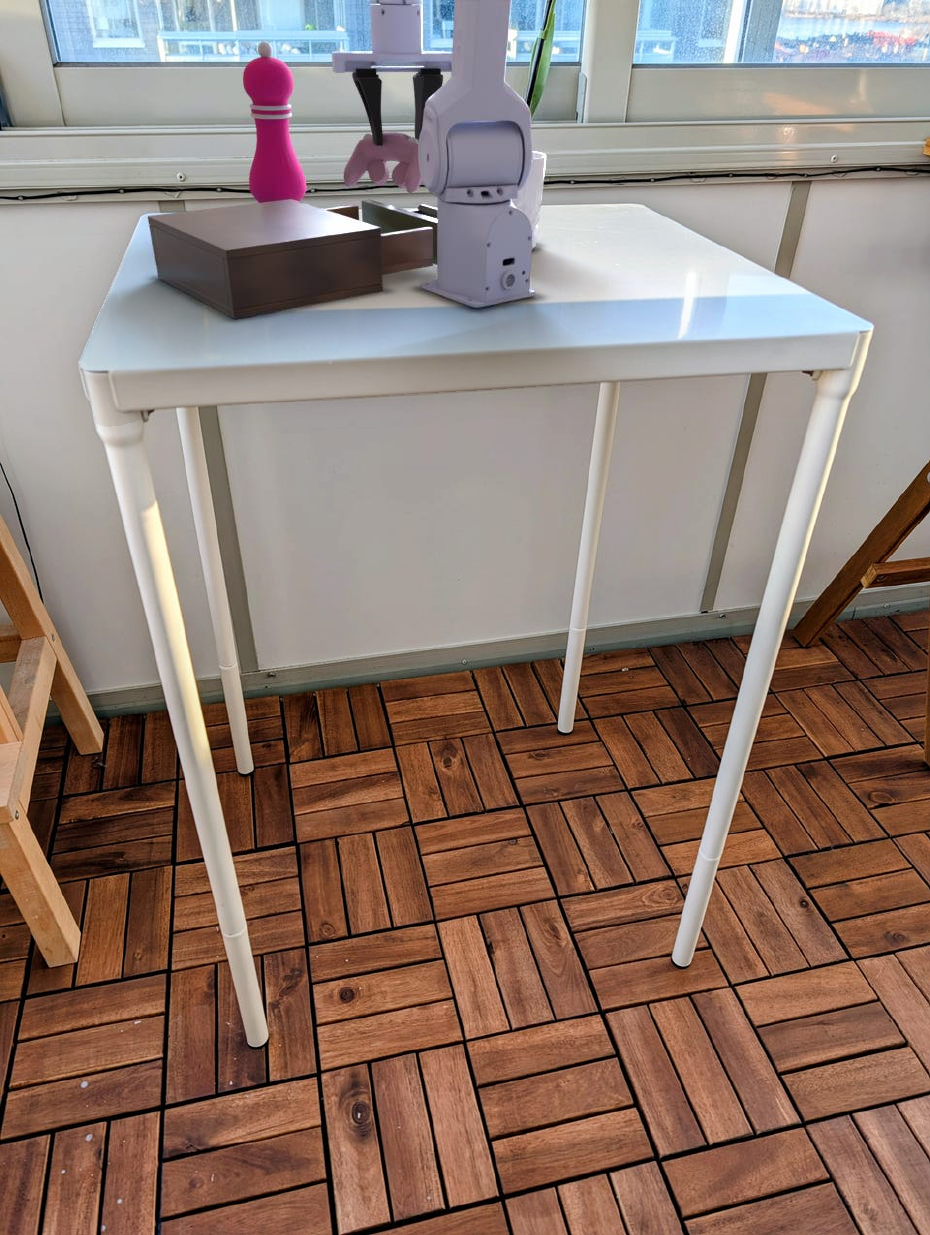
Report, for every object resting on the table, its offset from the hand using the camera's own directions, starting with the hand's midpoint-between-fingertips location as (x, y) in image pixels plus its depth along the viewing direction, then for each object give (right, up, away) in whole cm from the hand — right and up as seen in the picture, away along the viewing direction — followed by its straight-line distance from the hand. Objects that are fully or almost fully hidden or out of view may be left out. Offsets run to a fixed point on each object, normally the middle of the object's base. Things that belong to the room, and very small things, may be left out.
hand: (399, 144), depth 106 cm
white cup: (+13, -11, +3) cm, 17 cm away
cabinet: (-13, -21, -13) cm, 28 cm away
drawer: (-3, -16, -7) cm, 18 cm away
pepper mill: (-16, -4, +12) cm, 21 cm away
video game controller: (-2, -4, +2) cm, 5 cm away
